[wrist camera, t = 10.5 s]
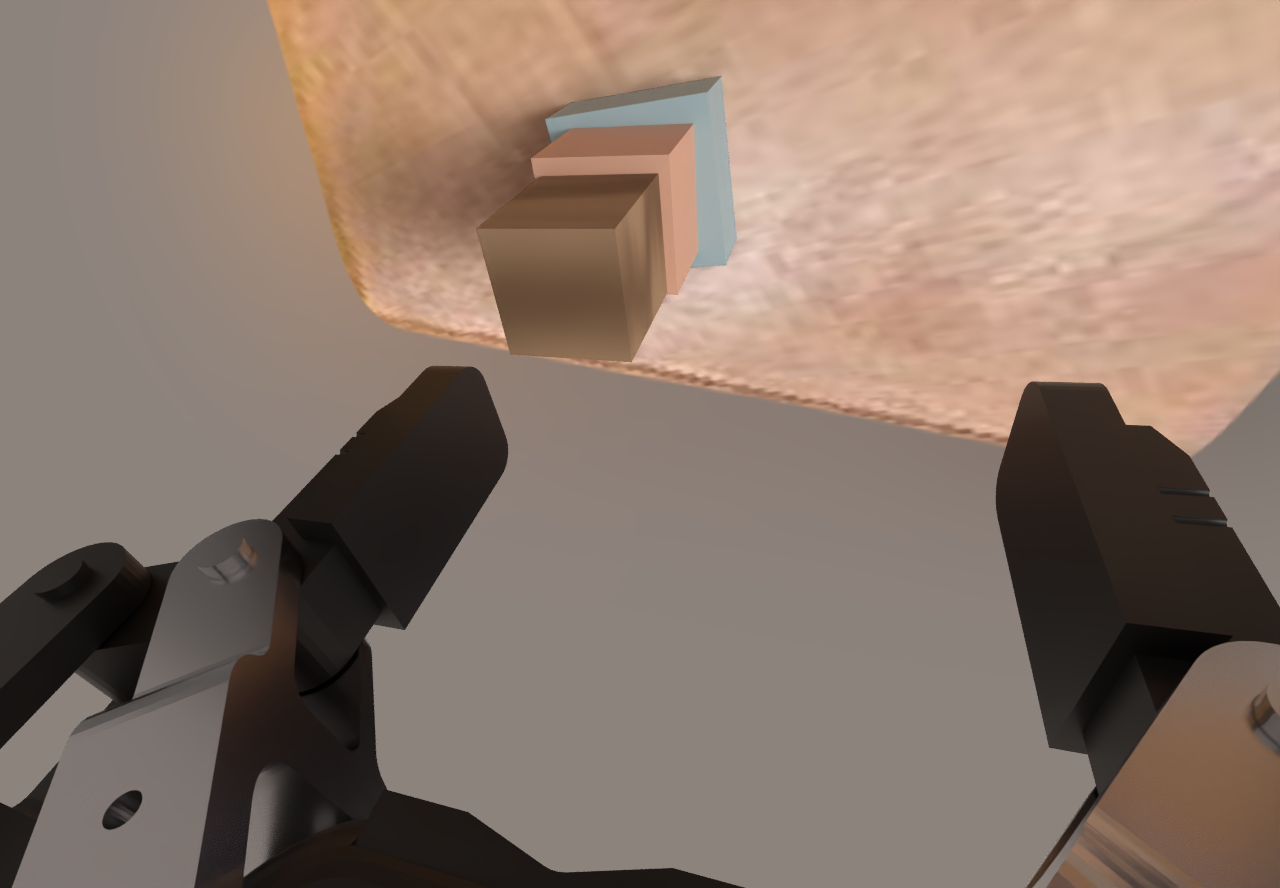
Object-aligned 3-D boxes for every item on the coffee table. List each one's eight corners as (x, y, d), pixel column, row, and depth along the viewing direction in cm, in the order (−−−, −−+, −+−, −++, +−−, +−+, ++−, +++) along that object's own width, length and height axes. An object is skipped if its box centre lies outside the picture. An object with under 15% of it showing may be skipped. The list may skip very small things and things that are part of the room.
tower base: (573, 101, 32) (545, 119, 29) (722, 74, 30) (707, 91, 27) (606, 247, 37) (585, 275, 34) (737, 236, 34) (726, 265, 31)
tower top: (571, 128, 29) (530, 158, 26) (694, 123, 28) (669, 154, 24) (589, 249, 33) (556, 290, 29) (698, 250, 31) (677, 294, 28)
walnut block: (540, 175, 26) (476, 228, 22) (658, 173, 25) (614, 228, 20) (562, 288, 29) (510, 354, 25) (667, 292, 28) (631, 361, 23)
